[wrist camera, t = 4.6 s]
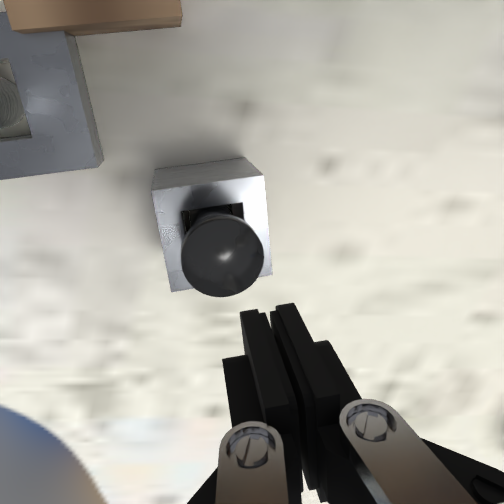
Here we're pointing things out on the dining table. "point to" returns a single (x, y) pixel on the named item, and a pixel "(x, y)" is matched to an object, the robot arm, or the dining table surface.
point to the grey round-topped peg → (9, 104)
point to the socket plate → (48, 105)
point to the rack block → (92, 15)
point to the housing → (207, 205)
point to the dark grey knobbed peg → (220, 252)
